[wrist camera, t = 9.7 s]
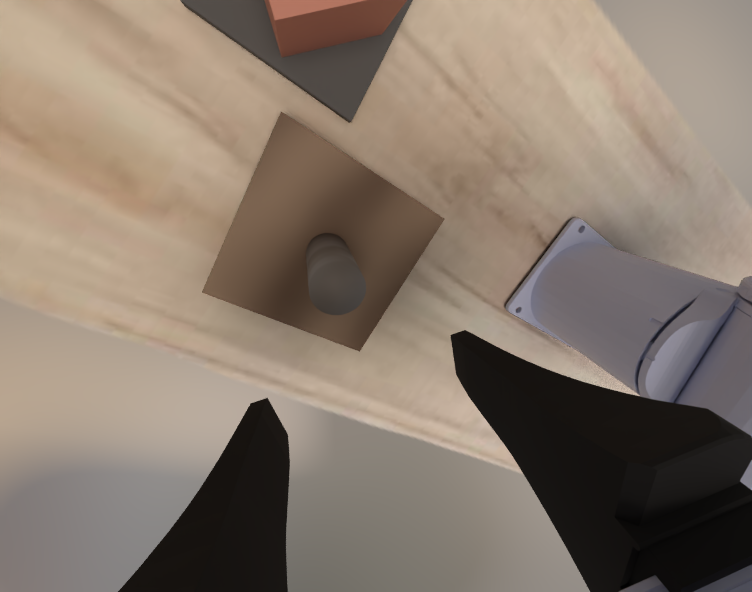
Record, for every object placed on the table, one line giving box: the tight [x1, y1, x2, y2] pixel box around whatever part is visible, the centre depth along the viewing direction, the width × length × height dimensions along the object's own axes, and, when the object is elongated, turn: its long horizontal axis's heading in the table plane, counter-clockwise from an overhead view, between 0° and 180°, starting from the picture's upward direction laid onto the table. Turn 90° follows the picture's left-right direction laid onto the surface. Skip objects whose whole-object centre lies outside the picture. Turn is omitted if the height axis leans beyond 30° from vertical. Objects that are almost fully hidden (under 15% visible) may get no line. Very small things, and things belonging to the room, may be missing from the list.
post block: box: [202, 112, 444, 351], centre depth 16 cm, size 10×10×6 cm
